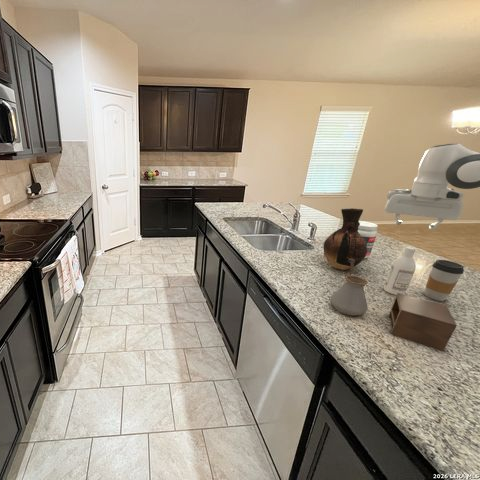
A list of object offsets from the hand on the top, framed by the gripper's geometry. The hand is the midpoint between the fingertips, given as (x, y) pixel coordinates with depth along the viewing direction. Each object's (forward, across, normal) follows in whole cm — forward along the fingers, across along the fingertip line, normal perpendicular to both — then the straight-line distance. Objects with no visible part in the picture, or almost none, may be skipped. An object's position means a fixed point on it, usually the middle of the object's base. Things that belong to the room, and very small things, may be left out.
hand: (414, 227), depth 97 cm
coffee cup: (+29, +14, +5) cm, 32 cm away
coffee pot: (+28, -15, -22) cm, 39 cm away
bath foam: (+29, +1, 0) cm, 29 cm away
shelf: (+28, +4, -28) cm, 40 cm away
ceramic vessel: (+28, -19, +14) cm, 37 cm away
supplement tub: (+28, -13, +36) cm, 48 cm away
